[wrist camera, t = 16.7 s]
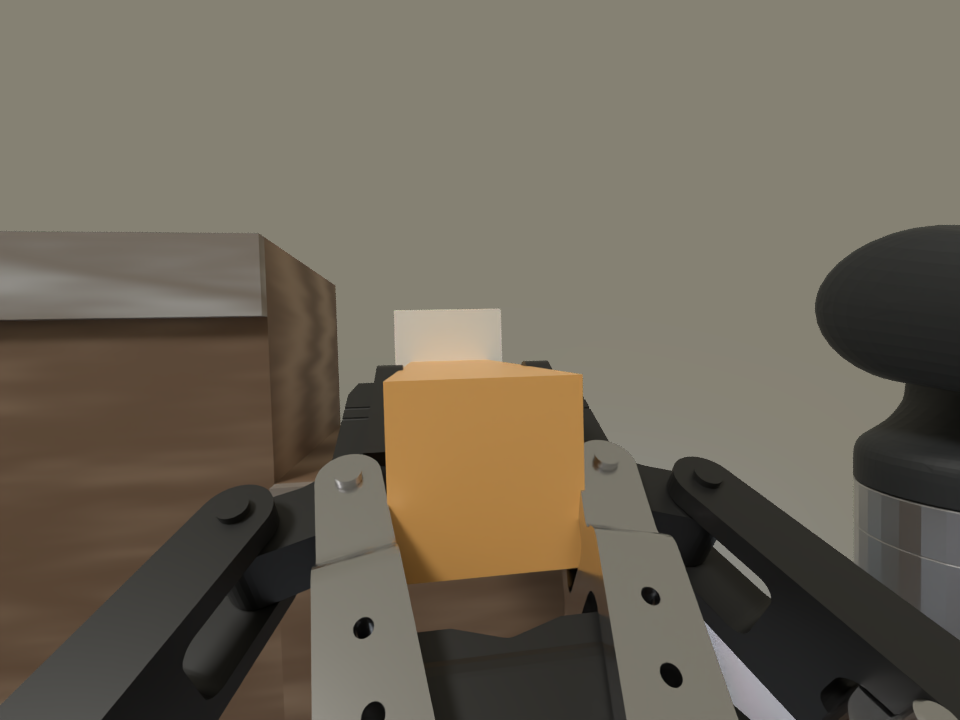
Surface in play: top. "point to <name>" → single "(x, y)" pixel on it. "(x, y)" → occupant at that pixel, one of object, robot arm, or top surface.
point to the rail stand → (174, 434)
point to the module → (479, 452)
